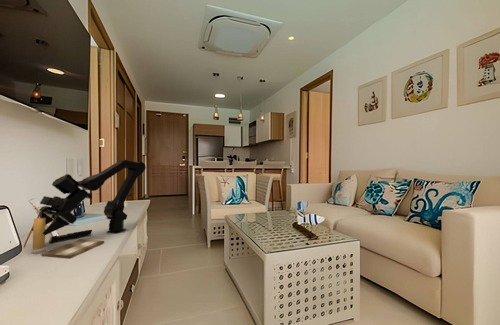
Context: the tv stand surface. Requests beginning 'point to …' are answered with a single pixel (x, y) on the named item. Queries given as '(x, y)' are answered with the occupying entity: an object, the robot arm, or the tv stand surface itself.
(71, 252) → the subfloor panel
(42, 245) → the orange rounded post
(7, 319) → the tv stand surface
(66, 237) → the electric trimmer
